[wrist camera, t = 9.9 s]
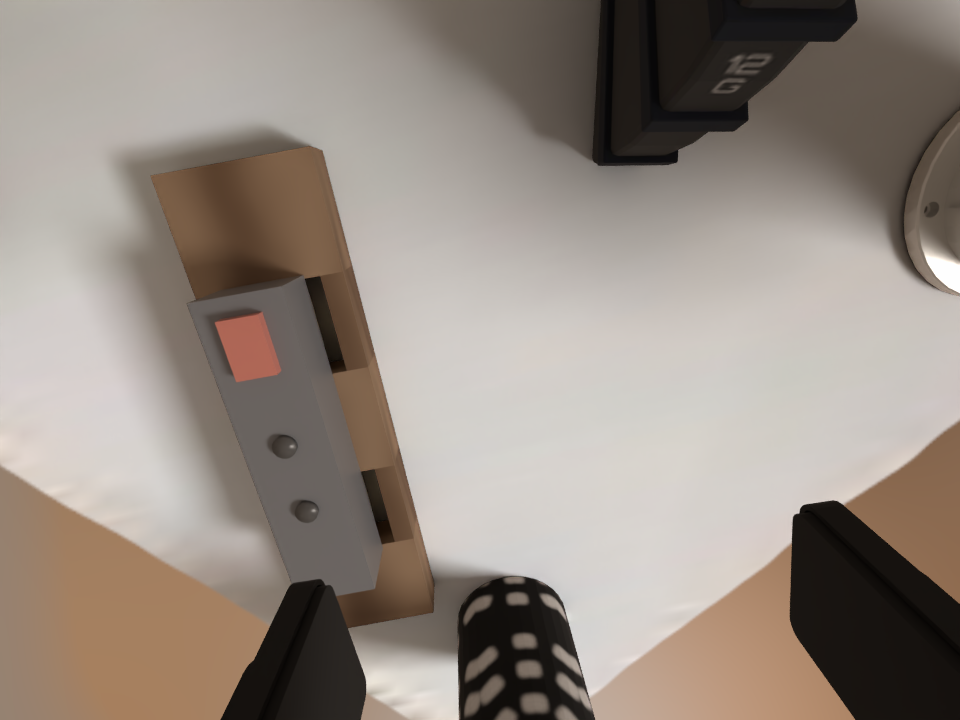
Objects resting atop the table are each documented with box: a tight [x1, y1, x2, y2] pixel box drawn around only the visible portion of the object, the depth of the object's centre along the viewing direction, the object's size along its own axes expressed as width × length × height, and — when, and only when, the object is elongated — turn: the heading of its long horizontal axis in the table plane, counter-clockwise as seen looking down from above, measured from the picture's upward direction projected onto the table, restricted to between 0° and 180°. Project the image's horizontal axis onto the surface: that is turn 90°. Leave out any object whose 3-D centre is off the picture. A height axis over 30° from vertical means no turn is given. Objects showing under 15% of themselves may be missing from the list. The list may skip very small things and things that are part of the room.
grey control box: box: [187, 275, 383, 596], centre depth 28 cm, size 4×18×7 cm, turn 10°
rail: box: [151, 146, 435, 628], centre depth 30 cm, size 8×30×2 cm, turn 10°
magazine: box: [592, 0, 857, 166], centre depth 20 cm, size 4×13×15 cm, turn 1°
